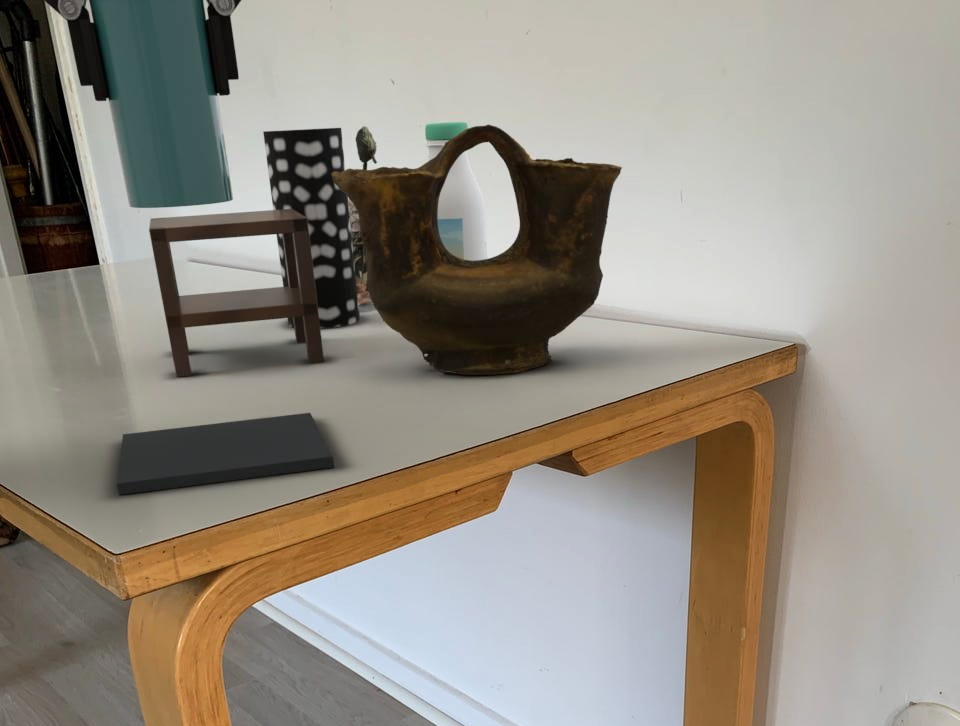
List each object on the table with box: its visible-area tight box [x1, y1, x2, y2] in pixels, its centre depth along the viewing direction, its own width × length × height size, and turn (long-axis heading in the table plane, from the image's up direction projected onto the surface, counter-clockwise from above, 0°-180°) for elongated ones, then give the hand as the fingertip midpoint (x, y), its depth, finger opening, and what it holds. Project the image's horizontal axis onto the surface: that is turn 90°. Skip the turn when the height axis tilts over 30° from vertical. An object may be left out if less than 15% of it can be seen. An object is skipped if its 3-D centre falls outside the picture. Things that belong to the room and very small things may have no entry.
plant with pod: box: [348, 125, 378, 308], centre depth 120 cm, size 8×11×20 cm
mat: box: [116, 412, 335, 496], centre depth 70 cm, size 14×12×1 cm
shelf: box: [148, 209, 325, 378], centre depth 97 cm, size 14×12×13 cm
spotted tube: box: [262, 127, 361, 330], centre depth 111 cm, size 8×8×20 cm
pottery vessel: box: [331, 123, 623, 376], centre depth 87 cm, size 25×11×20 cm, turn 101°
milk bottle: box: [424, 121, 488, 261], centre depth 110 cm, size 8×8×20 cm
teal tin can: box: [88, 0, 234, 209], centre depth 61 cm, size 6×9×11 cm
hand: (163, 94), depth 60 cm, fingers closed on teal tin can, 6 cm apart
